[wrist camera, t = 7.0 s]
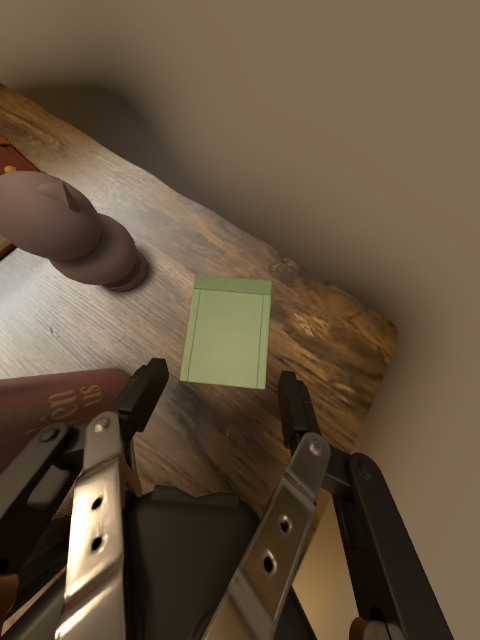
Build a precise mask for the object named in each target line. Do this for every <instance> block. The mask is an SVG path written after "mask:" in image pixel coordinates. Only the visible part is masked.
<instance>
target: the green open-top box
mask: <svg viewBox="0 0 480 640" xmlns="http://www.w3.org/2000/svg"><path fill="white" fill-rule="evenodd" d="M271 288H272V281H266V280H255V279H243V278H232V277H220V276H209V275H197V274H196V275H195V282H194V289H193V294H192V300H191V307H190V313H189V319H188V326H187V332H186V338H185V345H184V351H183V357H182V364H181V370H180V377H179V381H188V382H195V383H205V384H215V385H225V386H235V387H244V388H254V389H256V388H257V389H265V384H266V368H267V352H268V336H269V320H270V304H271Z"/></svg>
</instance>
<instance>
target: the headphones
mask: <svg viewBox="0 0 480 640" xmlns="http://www.w3.org/2000/svg"><path fill="white" fill-rule="evenodd" d="M71 520H72V515H69V516H57V517H54V518H52V520H51V521H50V523H49V525H48V526H47V528H46V530H45V531H44V533H43V535H42V536H41V538H40V539H39V541H38V543H37V544H36V546H35V548H34V549H33V551H32V553H31V554H30V556H29V558H28V559H27V561H26V563H25V564H24V566H23V568H22V569H21V571H20V573H19V574H18V579H19V584H18V590H17V593H16V594H17V597H16V601H15V604H14V606H13V607H12V609H11V610H10V612H9V613H8V614H7V615H6V618H5V620H4V622H5V621H6V620H7V619H8V618H9V617H11V616H12V615H13V614H14V613H15V612H16V611H17V610H18V609H20V608H21V607H22V606H23V605H24V604H25V603H26V602H27V601H29V600H30V599H31V598H32V597H33V596H34V595H35V594H36V593H37V592H38V591H40V590H41V589H42V588H43V587H44V586H45V585H46V584H47V583H48V582H49V581H50V580H51V579H52V578H53V577H54V576H55V575H56V574H57V573H58V572H59V571H60V570H61V569H62V568H63V567H64V566H65V565H66V564H67V563H68V554H69V543H70V532H71Z"/></svg>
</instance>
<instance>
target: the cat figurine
mask: <svg viewBox="0 0 480 640" xmlns="http://www.w3.org/2000/svg"><path fill="white" fill-rule="evenodd" d="M0 234H1V235H2V236H3V237H5V238H6V239H7V240H8V241H10V242H11V243H12V244H14V245H15V246H16V247H18V248H20V249H22V250H24V251H26V252H29V253H31V254H34V255H37V256H40V257H43V258H47V259H49V260H50V262H51V264H52V265H53V266H54V267H55V268H56V269H57V270H58V271H60V272H61V273H62V274H63V275H65V276H66V277H68V278H70V279H72V280H75V281H78V282H81V283H84V284H92V285H103V286H105V287H107V288H109V289H111V290H114V291H127V290H131V289H133V288H134V287H136V286H138V285H139V284H140V283H141V281H142V280H143V279H144V277H145V275H146V271H147V263H146V260H145V258H144V256H143V255H142V254H141V253H140V252H139V251H138V250H137V249H136V247H135V243H134V240H133V238H132V237H131V235H130V234H129V232H128V231H127V230H126V228H125V227H124V226H123V225H121V224H120V223H118V222H117V221H116V220H114V219H113V218H111V217H109V216H106V215H103V214H100V213H97V211H96V210H95V208H94V207H93V205H92V204H91V202H90V201H89V200H88V199H87V198H86V197H85V196H84V195H83V194H82V193H81V192H79V191H78V190H77V189H75V188H74V187H72V186H71V185H69V184H68V183H66V182H65V181H63V180H61V179H59V178H56V177H53V176H50V175H47V174H43V173H40V172H35V171H14V172H9V173H6V174H3V175H1V176H0Z"/></svg>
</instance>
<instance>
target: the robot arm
mask: <svg viewBox="0 0 480 640" xmlns="http://www.w3.org/2000/svg"><path fill="white" fill-rule="evenodd" d="M168 379H169V372H168V368H167V364H166V360H165V359H161V358H152V359H151V360H150V362H149V363H148V365H143V366H142V367H140V368H139V369H138V370H137V371H136V372H135V373H134V374H133V376H132V377H131V379H130V380H129V381H128V383H127V385H126V386H125V387H124V388H123V390H122V391H121V393H120V394H119V395H118V397H117V398H116V400H115V401H114V402H113V404H112V405H111V407H110V408H109V409H108V410H107V411H106V412H103V413H101V414H99V415H97V416H96V417H95V418H93V419H92V420H91V421H87V422H83V423H78V424H74V425H69V424H68V423H67V422H66V421H56V422H53V423H50V424H48V425H46V426H45V427H43V428H42V429H41V430H39V431H38V432H37V433H36V434H35V435H34V436H33V437H32V438H31V440H30V441H29V442H28V443H27V444H26V445H25V446H24V447H23V448H22V450H21V451H20V452H19V453H18V454H17V455H16V456H15V457H14V458H13V460H12V461H11V462H10V463H9V464H8V465H7V466H6V467H5V468H4V470H3V471H2V472H1V473H0V640H317V638H316V636H315V633H314V631H313V629H312V627H311V625H310V623H309V621H308V619H307V617H306V615H305V613H304V610H303V608H302V606H301V604H300V602H299V600H298V597H297V596H296V593H295V591H294V589H293V587H292V585H291V583H292V580H293V577H294V574H295V571H296V568H297V565H298V562H299V559H300V556H301V553H302V550H303V547H304V544H305V541H306V538H307V535H308V532H309V529H310V526H311V523H312V520H313V517H314V514H315V510H316V499H317V496H318V493H319V490H320V487H321V488H323V489H325V490H327V491H328V492H330V493H331V494H332V498H333V502H334V507H335V511H336V515H337V520H338V524H339V529H340V534H341V538H342V542H343V547H344V551H345V555H346V560H347V564H348V568H349V573H350V578H351V582H352V586H353V591H354V595H355V600H356V604H357V608H358V613H359V617H357V618H355V619H354V620H353V622H352V624H351V627H350V632H349V640H454V638H453V636H452V634H451V632H450V629H449V627H448V625H447V622H446V620H445V618H444V615H443V613H442V611H441V608H440V606H439V604H438V602H437V599H436V597H435V595H434V592H433V590H432V588H431V585H430V583H429V581H428V579H427V576H426V574H425V572H424V569H423V567H422V565H421V562H420V560H419V558H418V555H417V553H416V551H415V549H414V546H413V544H412V541H411V539H410V537H409V535H408V532H407V530H406V528H405V525H404V523H403V521H402V518H401V516H400V514H399V512H398V510H397V507H396V505H395V502H394V500H393V498H392V495H391V493H390V491H389V488H388V486H387V484H386V481H385V479H384V477H383V475H382V472H381V470H380V469H379V467H378V466H377V465H376V463H375V462H374V461H373V460H372V459H371V458H369V457H368V456H366V455H364V454H362V453H354V454H352V455H349V454H347V453H345V452H343V451H341V450H339V449H336V448H335V447H333V446H331V445H330V444H329V443H328V442H327V441H326V440H325V439H324V438H323V436H322V434H321V432H320V430H319V427H318V423H317V420H316V416H315V413H314V409H313V406H312V404H311V399H310V396H309V392H308V389H307V387H306V386H305V384H304V383H303V381H298V380H297V379H296V375H295V372H292V371H282V373H281V377H280V380H279V383H278V399H279V407H280V415H281V423H282V430H283V438H284V446H285V448H288V449H290V451H291V458H290V460H289V462H288V464H287V466H286V468H285V470H284V472H283V474H282V476H281V478H280V479H279V481H278V483H277V485H276V487H275V489H274V491H273V493H272V495H271V497H270V498H269V500H268V502H267V504H266V506H265V508H264V510H263V512H262V514H261V516H260V518H259V517H258V515H257V514H256V513H255V511H254V510H253V509H252V508H251V507H250V506H249V505H248V504H246V503H245V502H243V501H242V500H240V494H231V493H222V492H218V493H214V494H210V495H206V496H202V497H193V496H191V495H190V494H188V493H186V492H184V491H182V490H180V489H178V488H176V487H169V486H160V485H155V488H154V491H151V492H148V493H146V494H144V495H143V494H142V487H141V483H140V480H139V477H138V473H137V467H136V459H135V452H134V444H133V436H134V434H135V432H143V431H144V429H145V427H146V424H147V422H148V420H149V418H150V416H151V414H152V412H153V410H154V408H155V406H156V404H157V402H158V400H159V398H160V396H161V394H162V392H163V390H164V388H165V386H166V384H167V382H168ZM82 468H83V472H82V475H81V476H80V477H78V475H79V473H80V472H81V470H82ZM77 477H78V478H77ZM76 478H77V480H76ZM75 480H76V483H75V488H74V498H73V509H72V520H71V532H70V543H69V554H68V565H67V569H66V570H65V571H64V572H63V574H62V575H61V576H60V577H59V578H58V579H57V580H56V581H55V582H54V583H53V584H52V585H51V586H50V587H49V588H48V589H47V590H46V591H45V592H44V593H43V594H42V595H41V596H40V597H39V598H38V599H37V600H36V601H35V602H34V604H33V605H32V606H31V607H30V608H29V609H28V610H27V611H26V612H25V613H24V614H23V615H22V616H21V617H20V618H19V619H18V620H17V621H16V622H15V623H14V624H13V625H12V626H11V627H10V628H9V629H8V630H7V631H6V632H5V634H4V635H3V636H2V637H1V632H2V627H3V623H4V620H5V618H6V615H7V614H8V613H9V612H10V610H11V609H12V607H13V606H14V604H15V601H16V597H17V594H16V593H17V590H18V584H19V579H18V574H19V573H20V571H21V569H22V568H23V566H24V564H25V563H26V561H27V559H28V558H29V556H30V554H31V553H32V551H33V549H34V548H35V546H36V544H37V543H38V541H39V539H40V538H41V536H42V535H43V533H44V531H45V530H46V528H47V526H48V525H49V523H50V521H51V520H52V518H53V516H54V515H55V513H56V511H57V510H58V508H59V506H60V505H61V503H62V501H63V500H64V498H65V496H66V495H67V493H68V492H69V490H70V488H71V487H72V485H73V483H74V482H75Z"/></svg>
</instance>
